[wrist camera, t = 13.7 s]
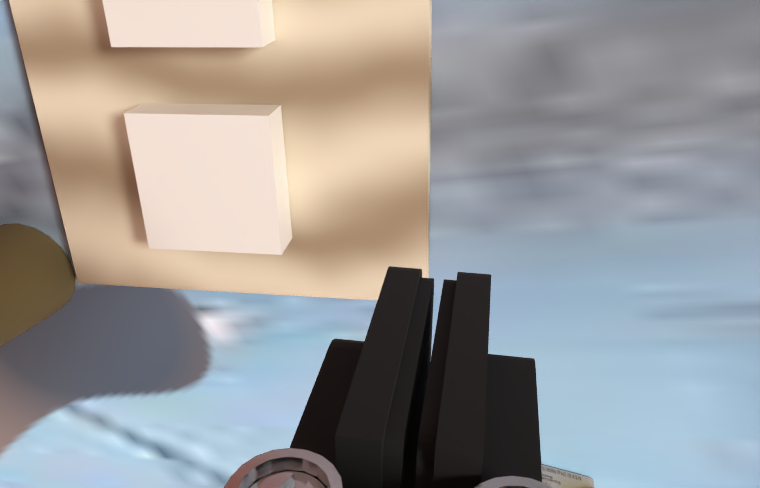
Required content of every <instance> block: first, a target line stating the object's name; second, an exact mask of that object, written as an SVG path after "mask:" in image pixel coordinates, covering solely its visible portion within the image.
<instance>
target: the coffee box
mask: <svg viewBox="0 0 760 488" xmlns="http://www.w3.org/2000/svg"><path fill="white" fill-rule="evenodd" d="M541 470H542V483H545V484H548V485H550V486H551V487H553V488H594V482H593V480H592V479H591V478H590V477H587V476H583V475H579V474H576V473H572V472H568V471H564V470H560V469H557V468H553V467H549V466H546V465H542V464H541Z"/></svg>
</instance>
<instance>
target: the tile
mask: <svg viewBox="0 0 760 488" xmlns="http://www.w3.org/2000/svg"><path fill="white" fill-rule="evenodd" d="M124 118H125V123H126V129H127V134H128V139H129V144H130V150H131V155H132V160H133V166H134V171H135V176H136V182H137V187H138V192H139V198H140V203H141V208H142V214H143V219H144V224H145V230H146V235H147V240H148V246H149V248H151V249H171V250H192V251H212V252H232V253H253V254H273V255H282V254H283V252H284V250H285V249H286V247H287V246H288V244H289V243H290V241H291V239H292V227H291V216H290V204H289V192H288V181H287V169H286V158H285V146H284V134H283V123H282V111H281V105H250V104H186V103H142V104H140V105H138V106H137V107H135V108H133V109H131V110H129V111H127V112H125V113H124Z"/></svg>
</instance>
